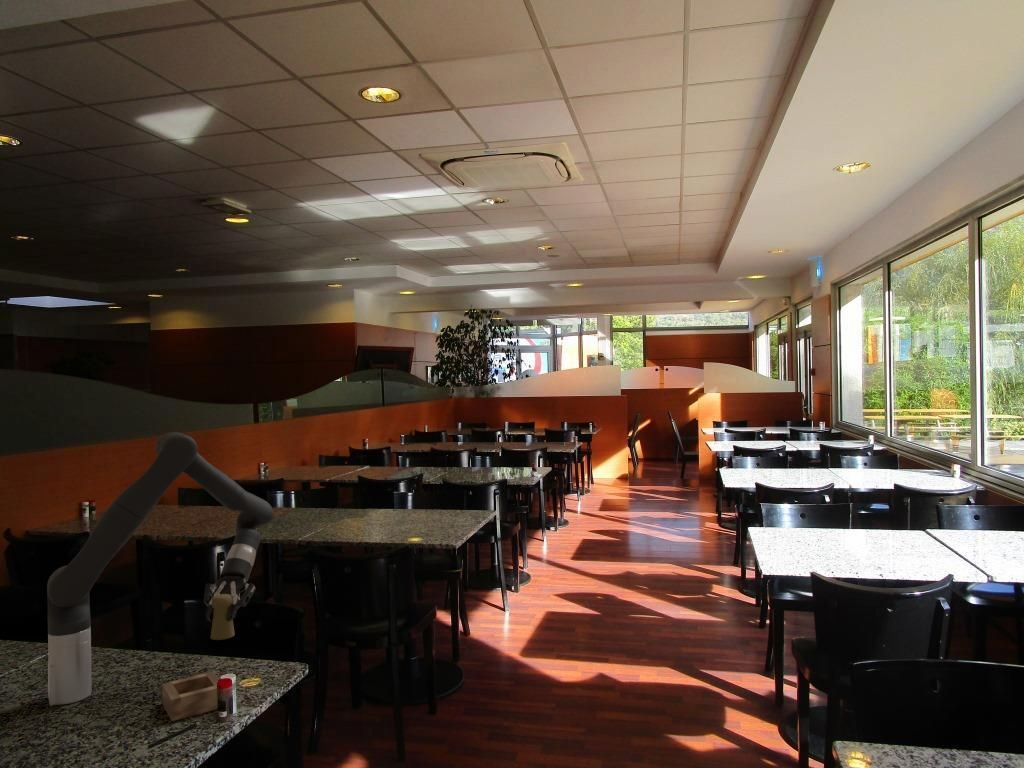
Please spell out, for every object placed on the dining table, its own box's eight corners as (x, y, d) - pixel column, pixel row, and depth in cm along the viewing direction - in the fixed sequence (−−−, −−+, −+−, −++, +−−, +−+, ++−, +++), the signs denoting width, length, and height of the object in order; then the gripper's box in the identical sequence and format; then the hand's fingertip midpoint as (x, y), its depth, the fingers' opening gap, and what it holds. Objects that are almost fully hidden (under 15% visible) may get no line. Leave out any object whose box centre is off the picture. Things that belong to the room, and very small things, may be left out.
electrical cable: (198, 725, 161) (198, 721, 161) (200, 726, 160) (200, 721, 160) (147, 749, 151) (147, 744, 151) (150, 750, 150) (150, 745, 150)
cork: (226, 640, 183) (225, 598, 184) (205, 639, 185) (205, 597, 185) (239, 632, 189) (238, 592, 190) (219, 631, 191) (218, 591, 191)
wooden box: (171, 721, 163) (171, 699, 163) (162, 703, 172) (162, 683, 172) (225, 706, 170) (225, 686, 170) (213, 690, 179) (213, 671, 180)
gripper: (209, 556, 195) (187, 613, 183) (259, 556, 194) (240, 613, 182) (219, 571, 200) (198, 626, 188) (267, 570, 200) (249, 626, 187)
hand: (219, 619), depth 185 cm, fingers closed on cork, 5 cm apart
